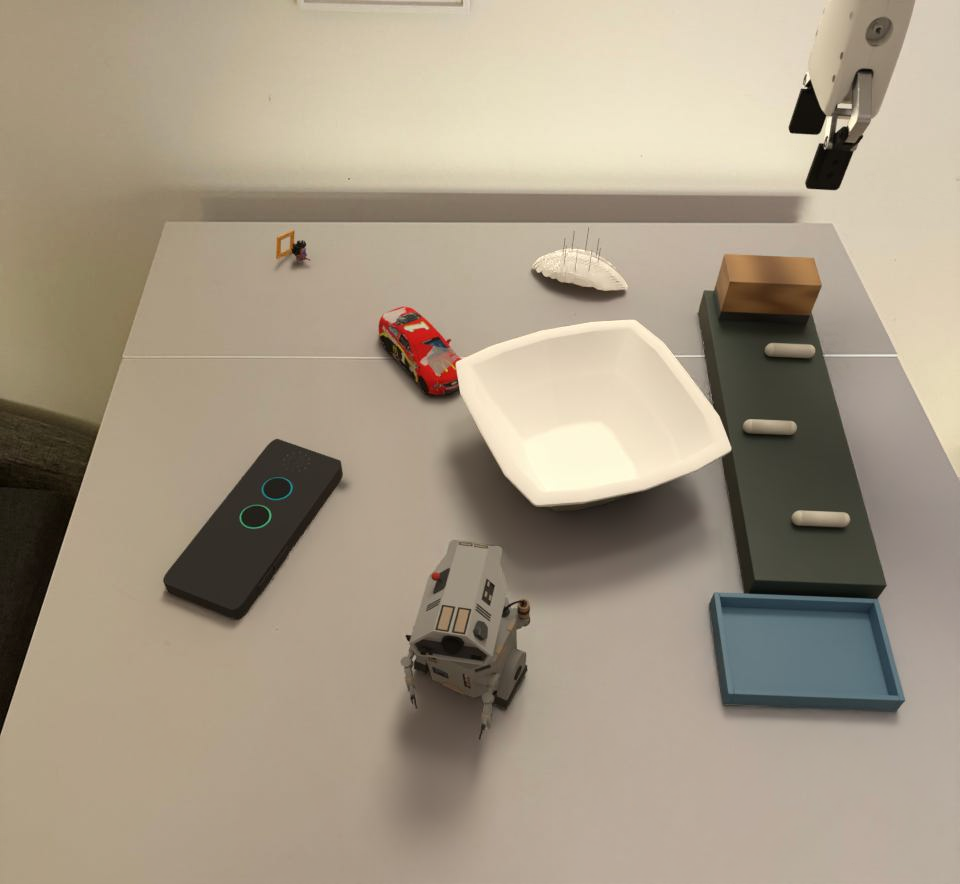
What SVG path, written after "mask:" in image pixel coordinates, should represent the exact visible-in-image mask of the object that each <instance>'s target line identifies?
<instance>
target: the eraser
mask: <svg viewBox="0 0 960 884" xmlns="http://www.w3.org/2000/svg"><path fill="white" fill-rule="evenodd" d="M822 286H823V284H822V281H821V278H820V273H819V270H818V267H817V263H816V259H815V258H814V257H804V256H783V255H782V256H781V255H780V256H779V255H757V254H735V253H724V254H723V257H722V260H721V264H720V268H719V270H718V275H717V279H716V281H715V285H714V289H713V291H714V292H713V294H714V300H715V305H716V311H717V316H718V320H719V321H742V322H765V323H787V324H807V322H808V320H809V317H810V314H811V312H812V313H813V310H814V307H815V304H816V302H817V299H818V298H819V297H818V296H819V294H820V291H821V289H822Z"/></svg>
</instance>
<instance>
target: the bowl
mask: <svg viewBox="0 0 960 884" xmlns="http://www.w3.org/2000/svg"><path fill="white" fill-rule="evenodd" d="M456 370H457V376H458V382H459V394H460V397H461V399H462V400H463V403H464V405H465V407H466V408H467V410H468V412H469V414H470V416H471V418H472V420H473V421H474V424H475V425H476V427H477V429H478V431H479V433H480V435H481V437H482V438H483V441H484V442H485V444H486V445H487V448H488V449H489V451H490V453H491V454H492V455H493V458H494V460H495V461H496V464H497V465H498V467H499V468H500V470H501V472H502V473H503V475H504V477H505V478H506V479H507V480H509V482H510V483H511V484H512V485H513V486H514V487H515V488H516V489H517V490H518V491H519V492H520V493H521V495H523V496H524V498H526V500H528V501H529V503H530V504H531V505H533V506H534V507H536V508H537V507H538V508H544V507H545V508H546V507H547V508H550V509H551V510H552V511H554V512H568V511H569V512H571V511H581V510H584V509H590V508H593V507H599V506H604V505H606V504H609V503H612V502H614V501H617V500H619V499H622V498H625V497H628V496H630V495H632V494H636V493H641V492H645V491H648V490H650V489H654V488H656V487H658V486H661V485H664V484H667V483H669V482H672V481H675V480H677V479H679V478H682V477H685V476H687V475H691V474H693V473H696V472H698V471H700V470H702V469H703V468H705V467H707V466H708V465H710V464H712V463H715V462H716V461H717V460H719V459H722V457H723V456H725V455H726V454H728V453H729V452H730V451H731V445H730V443H729V440H728V437H727V435H726V432H725V430H724V427H723V424H722V422H721V419H720V416H719V415H718V414H717V412H716V411H715V409H714V406H713V405H712V404H711V403H710V401H709V400H708V399H707V397H706V396H705V394H704V393H703V392H702V390H701V389H700V388H699V386H698V385H697V384H696V382H695V381H694V379H693V378H692V376H691V375H690V374H689V373H688V372H687V370H686V369H685V368H684V367H683V365H682V364H681V363H680V361H679V360H678V359H677V358H676V356H675V354H673V352H672V351H671V350H670V348H669V347H668V346H667V345H666V343H665V342H664V341H663V340H661V339H660V338H659V337H657V336H656V335H655V334H654V333H652V332H651V331H650V330H649V329H648V328H646V327H645V326H644V325H642V324H641V322H639V321H638V320H636V319H621V320H619V319H618V320H605V321H604V320H603V321H602V320H601V321H590V322H584V323H578V324H571V325H566V326H561V327H553V328H548V329H541V330H539V331H535V332H532V333H528V334H525V335H522V336H519V337H515V338H512V339H508V340H506V341H502V342H499V343H495V344H492V345H490V346H488V347H486V348H483V349H481V350H479V351H477V352H474V353H472V354H471V355H467V356H466V357H464V358H461V360H459V361H457V362H456Z"/></svg>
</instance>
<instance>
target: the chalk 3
mask: <svg viewBox="0 0 960 884" xmlns="http://www.w3.org/2000/svg"><path fill="white" fill-rule="evenodd" d="M792 522H793V523H794V524H795V525H798V526H822V527H845V526H847V525H848V524H849V522H850V517H849V515H848V514H847V513H844V512H824V511H796V512H795V513H794V514H793V515H792Z"/></svg>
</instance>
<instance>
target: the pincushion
mask: <svg viewBox="0 0 960 884" xmlns="http://www.w3.org/2000/svg"><path fill="white" fill-rule="evenodd" d="M589 230H590V227H588V229H587V232H589ZM573 233H575V230H573ZM572 235H573V237H572V240H574V239H575V234H572ZM588 236H589V234H587V236H586V239H589V238H588ZM585 242H586V243H585V246H588V245H587V244H588V241H585ZM565 243H566V239H564V241H563V246H565V248H562V249H559V250H555V251H552V252H548V253H547V254H544V255H542V256H540V257H539V258H537V260H535V262H534V263H533V264H532V266H531V269H533V270H535V272H536V273H538V274H540V273H542V275H543V276H544V277H546V278H549V277H550V279H552V280H555V279H556V280H557V281H558V282H560V283H561V284H564V283H566V284H567V283H568V284H572V286H574V285H576V286H580V287H583V288H584V287H585V288H592V287H593V288H595V289H596V290H598V291H599V290H600V291H603V292H606V291H623V290H624V291H627V290H628V287H629V285H628V284H627V282H626V281H625V279H624V278H623V277H622V274H621V273H620V271H619V270H618V269H617V268H616V267H615V266H614V264H613V263H611V262H609V261H608V260H607V259H606V258H605V257H602V256H601V251H599V254H598V252H596V253H595V252H593V251H589V250H587V248H585V249H580V248H573V247H574V242H572V243H571V248H567V246H568V245H566V244H565ZM599 243H600V239H598V241H597V245H599ZM598 247H599V246H596V251H598V250H601V247H599V248H598Z"/></svg>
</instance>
